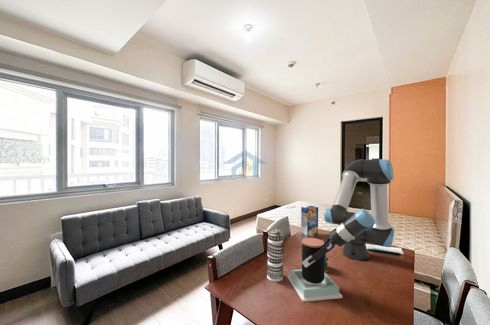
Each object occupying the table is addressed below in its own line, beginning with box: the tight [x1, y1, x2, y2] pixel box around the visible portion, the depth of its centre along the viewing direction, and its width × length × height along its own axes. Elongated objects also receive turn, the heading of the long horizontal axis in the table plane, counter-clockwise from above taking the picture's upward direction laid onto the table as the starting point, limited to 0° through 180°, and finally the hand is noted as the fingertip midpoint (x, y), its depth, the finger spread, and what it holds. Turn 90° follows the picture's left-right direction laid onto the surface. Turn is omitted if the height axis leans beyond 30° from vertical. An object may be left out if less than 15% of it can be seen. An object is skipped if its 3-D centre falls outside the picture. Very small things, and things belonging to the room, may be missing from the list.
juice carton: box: [300, 205, 319, 238], centre depth 172 cm, size 12×8×24 cm, turn 117°
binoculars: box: [325, 253, 329, 273], centre depth 119 cm, size 9×11×10 cm
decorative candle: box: [266, 228, 285, 282], centre depth 110 cm, size 9×9×25 cm
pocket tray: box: [287, 268, 343, 303], centre depth 101 cm, size 19×19×4 cm
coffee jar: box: [301, 237, 326, 284], centre depth 101 cm, size 11×11×18 cm
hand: (307, 260), depth 103 cm, fingers closed on coffee jar, 11 cm apart
